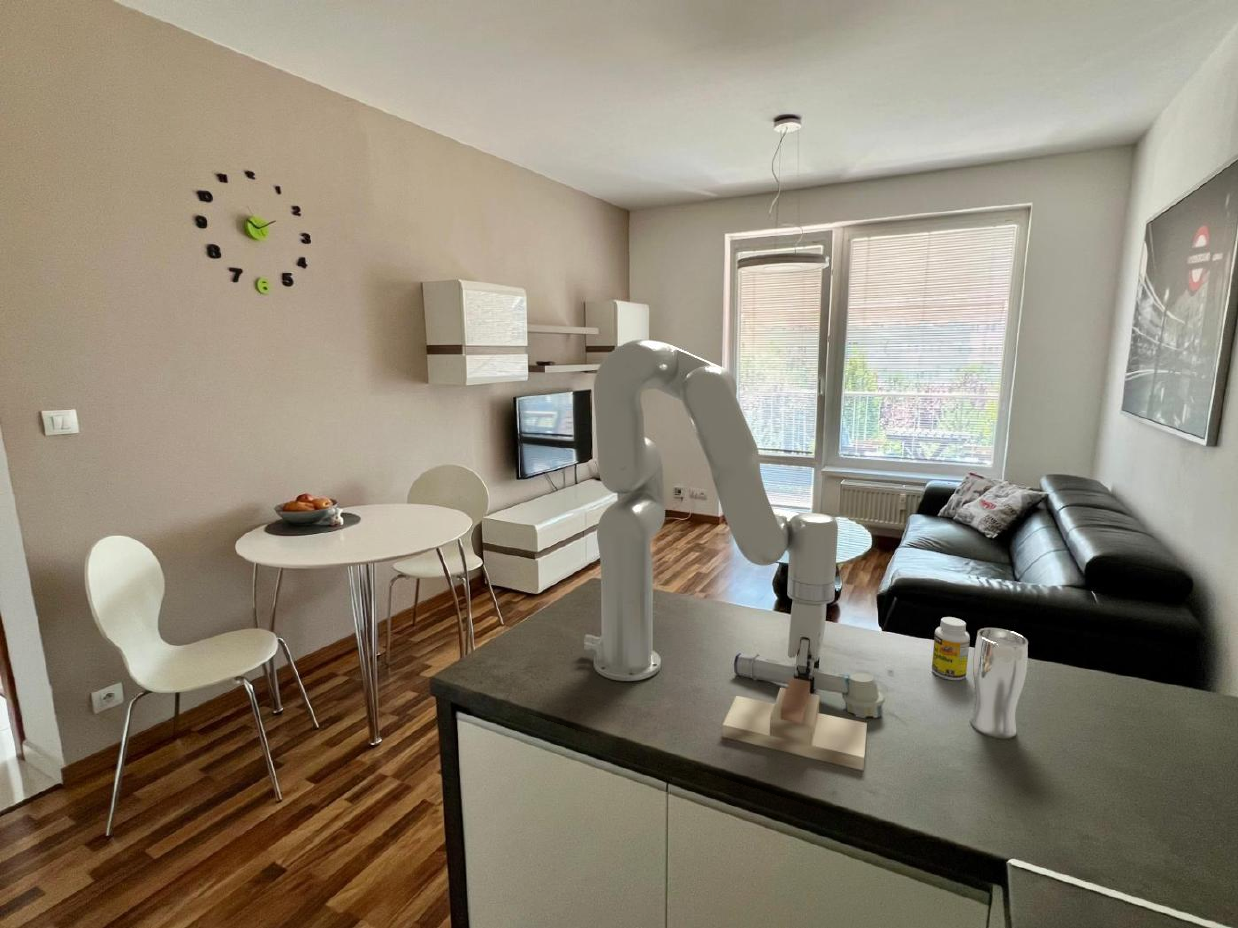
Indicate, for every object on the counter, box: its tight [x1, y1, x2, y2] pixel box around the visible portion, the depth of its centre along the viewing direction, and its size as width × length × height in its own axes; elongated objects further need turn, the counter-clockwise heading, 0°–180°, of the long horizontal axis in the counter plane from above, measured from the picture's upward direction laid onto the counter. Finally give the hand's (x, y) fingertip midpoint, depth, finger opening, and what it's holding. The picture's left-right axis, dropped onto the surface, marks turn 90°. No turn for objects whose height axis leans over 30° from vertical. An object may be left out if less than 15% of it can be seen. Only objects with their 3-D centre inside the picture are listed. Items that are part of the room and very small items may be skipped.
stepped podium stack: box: [722, 678, 868, 771], centre depth 94 cm, size 20×9×7 cm, turn 66°
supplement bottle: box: [931, 616, 971, 681], centre depth 112 cm, size 6×6×10 cm
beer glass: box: [970, 627, 1029, 740], centre depth 95 cm, size 7×7×15 cm
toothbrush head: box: [733, 652, 886, 719], centre depth 107 cm, size 5×7×25 cm
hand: (806, 686), depth 107 cm, fingers open, 6 cm apart
